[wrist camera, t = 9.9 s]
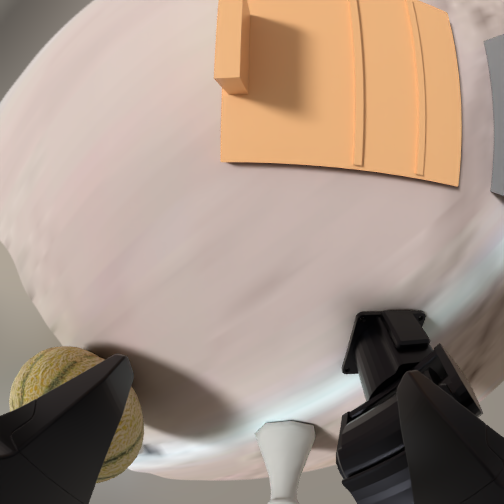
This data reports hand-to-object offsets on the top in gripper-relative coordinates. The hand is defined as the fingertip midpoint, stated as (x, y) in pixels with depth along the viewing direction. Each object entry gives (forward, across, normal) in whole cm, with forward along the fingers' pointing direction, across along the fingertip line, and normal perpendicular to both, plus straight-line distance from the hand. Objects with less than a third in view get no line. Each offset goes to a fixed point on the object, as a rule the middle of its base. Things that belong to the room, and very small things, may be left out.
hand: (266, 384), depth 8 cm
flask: (+12, -3, +23) cm, 26 cm away
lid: (+12, -5, -13) cm, 18 cm away
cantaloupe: (+12, +18, +16) cm, 27 cm away
